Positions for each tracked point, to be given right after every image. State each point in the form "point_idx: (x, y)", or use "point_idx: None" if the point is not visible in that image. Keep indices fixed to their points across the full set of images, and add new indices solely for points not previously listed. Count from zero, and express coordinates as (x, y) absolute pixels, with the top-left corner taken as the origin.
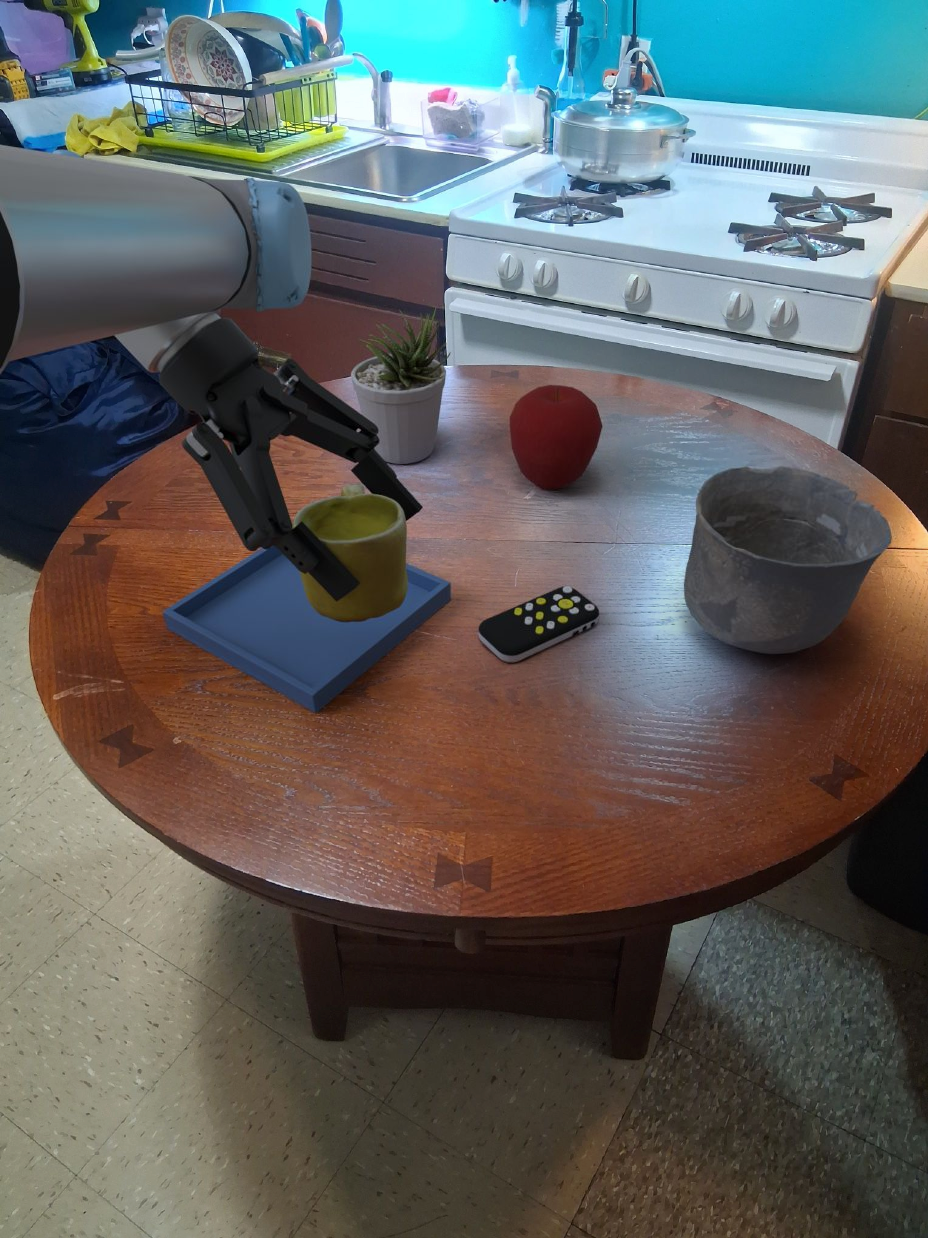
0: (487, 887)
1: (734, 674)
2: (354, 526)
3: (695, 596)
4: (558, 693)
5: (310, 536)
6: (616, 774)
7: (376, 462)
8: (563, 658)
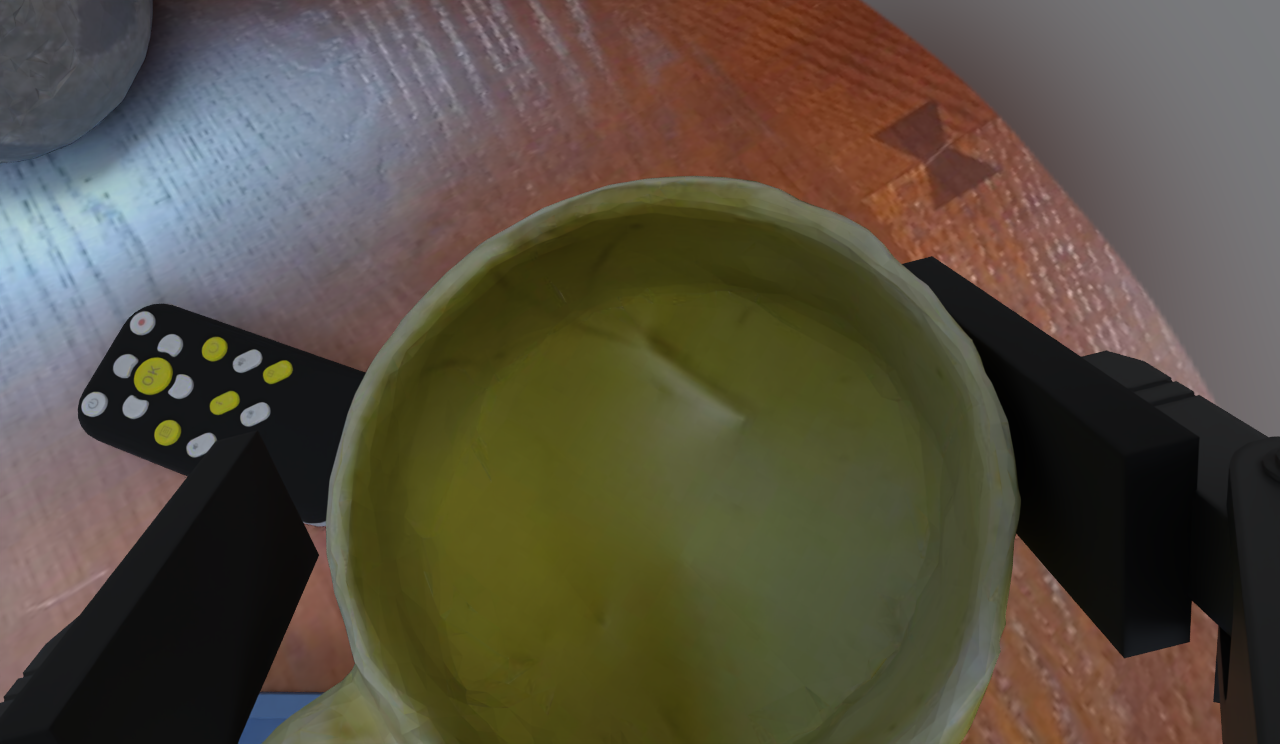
0: (929, 107)
1: (210, 46)
2: (543, 611)
3: (60, 63)
4: (429, 266)
5: (1098, 388)
6: (569, 79)
7: (85, 665)
8: (319, 317)
